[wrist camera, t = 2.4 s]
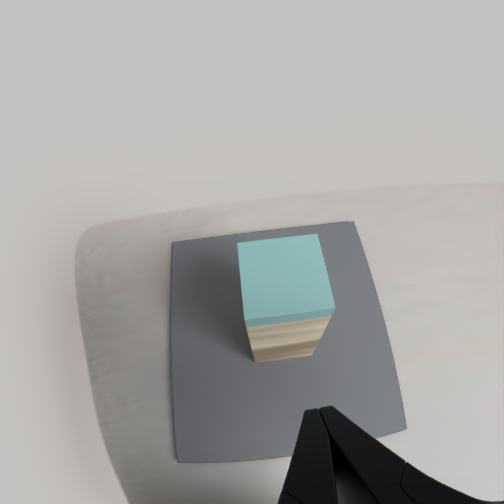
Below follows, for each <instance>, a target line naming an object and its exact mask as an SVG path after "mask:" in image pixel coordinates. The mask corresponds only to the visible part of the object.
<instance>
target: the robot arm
mask: <svg viewBox="0 0 504 504" xmlns="http://www.w3.org/2000/svg"><path fill="white" fill-rule="evenodd" d="M405 462H406V461H405V460H404V459H402V458H401V457H399V456H398V455H397V454H395V453H394V452H392V451H391V450H390V449H388V448H387V447H386V446H384V445H383V444H382V443H380V442H379V441H378V440H376V439H375V438H374V437H372V436H371V435H370V434H368V433H367V432H366V431H364V430H363V429H362V428H360V427H359V426H358V425H357V424H355V423H354V422H353V421H351V420H350V419H349V418H348V417H346V416H345V415H344V414H342V413H341V412H340V411H339V410H337V409H336V408H335V407H334V406H331V405H330V406H324V407H320V408H319V409H318V408H313V409H307V410H305V411H304V414H303V418H302V422H301V426H300V430H299V433H298V437H297V441H296V444H295V448H294V452H293V455H292V459H291V462H290V465H289V469H288V472H287V476H286V479H285V482H284V485H283V489H282V492H281V494H280V497H279V500H278V503H277V504H504V501H495V502H491V501H483V500H479V499H476V498H473V497H471V496H468V495H466V494H464V493H462V492H460V491H457V490H455V489H453V488H451V487H449V486H447V485H445V484H442V483H441V482H439V481H437V480H435V479H433V478H431V477H429V476H428V475H426V474H424V473H423V472H421V471H420V470H418V469H417V468H415V467H414V466H412V465H411V464H409V463H408V462H406V463H405Z"/></svg>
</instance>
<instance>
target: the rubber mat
mask: <svg viewBox="0 0 504 504" xmlns="http://www.w3.org/2000/svg"><path fill="white" fill-rule="evenodd" d="M309 234H318V238H319V242H320V246H321V250H322V254H323V258H324V262H325V266H326V270H327V274H328V278H329V282H330V286H331V291H332V295H333V299H334V304H335V310H334V312H333V314H332V316H331V318H330V320H329V322H328V324H327V326H326V328H325V330H324V332H323V334H322V336H321V338H320V340H319V342H318V344H317V346H316V348H315V350H314V352H313V354H312V355H309V356H303V357H296V358H289V359H282V360H274V361H266V362H257V363H255V361H254V357H253V353H252V349H251V345H250V341H249V336H248V332H247V328H246V324H245V320H244V310H243V300H242V289H241V279H240V268H239V258H238V247H237V243H240V242H249V241H257V240H266V239H274V238H283V237H292V236H300V235H309ZM171 359H172V389H173V409H174V425H175V439H176V451H177V462H178V463H218V462H238V461H252V460H263V459H272V458H280V457H288V456H292V455H293V452H294V448H295V444H296V441H297V437H298V433H299V430H300V426H301V422H302V418H303V414H304V411H305V410H307V409H313V408H318V409H319V408H320V407H324V406H330V405H331V406H334V407H335V408H336V409H337V410H339V411H340V412H341V413H342V414H344V415H345V416H346V417H348V418H349V419H350V420H351V421H353V422H354V423H355V424H357V425H358V426H359V427H360V428H362V429H363V430H364V431H366V432H367V433H368V434H370V435H371V436H372V437H374V438H375V439H376V438H379V437H383V436H386V435H390V434H393V433H396V432H400V431H403V430H406V429H407V426H406V420H405V414H404V408H403V402H402V397H401V392H400V387H399V382H398V377H397V372H396V367H395V363H394V358H393V354H392V350H391V345H390V341H389V337H388V333H387V329H386V325H385V321H384V318H383V314H382V310H381V306H380V303H379V299H378V296H377V292H376V289H375V285H374V282H373V279H372V275H371V272H370V269H369V266H368V262H367V259H366V256H365V253H364V250H363V247H362V244H361V241H360V238H359V235H358V232H357V229H356V226H355V223H354V221H352V222H342V223H333V224H323V225H314V226H305V227H296V228H287V229H278V230H269V231H261V232H252V233H243V234H235V235H227V236H219V237H210V238H202V239H194V240H186V241H179V242H173V253H172V284H171Z"/></svg>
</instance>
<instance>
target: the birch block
mask: <svg viewBox="0 0 504 504" xmlns="http://www.w3.org/2000/svg"><path fill="white" fill-rule="evenodd" d="M237 247H238V258H239V268H240V279H241V289H242V300H243V310H244V320H245V324H246V328H247V332H248V336H249V341H250V345H251V349H252V353H253V357H254V361H255V363H257V362H266V361H274V360H282V359H289V358H296V357H303V356H309V355H312V354H313V352H314V350H315V348H316V346H317V344H318V342H319V340H320V338H321V336H322V334H323V332H324V330H325V328H326V326H327V324H328V322H329V320H330V318H331V316H332V314H333V312H334V310H335V304H334V299H333V295H332V291H331V286H330V282H329V278H328V274H327V270H326V266H325V262H324V258H323V254H322V250H321V246H320V242H319V238H318V234H309V235H300V236H292V237H283V238H274V239H266V240H257V241H249V242H240V243H237Z"/></svg>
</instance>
